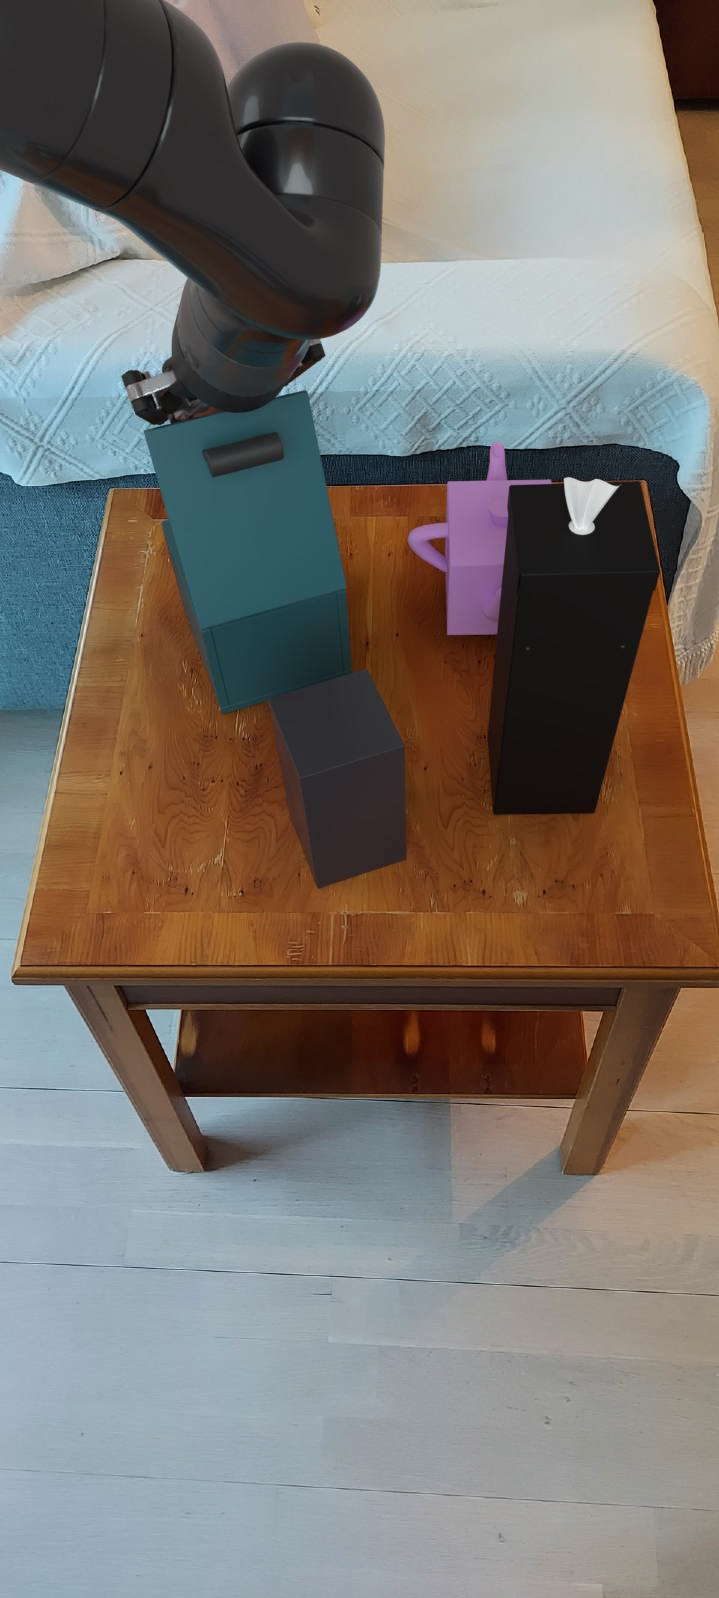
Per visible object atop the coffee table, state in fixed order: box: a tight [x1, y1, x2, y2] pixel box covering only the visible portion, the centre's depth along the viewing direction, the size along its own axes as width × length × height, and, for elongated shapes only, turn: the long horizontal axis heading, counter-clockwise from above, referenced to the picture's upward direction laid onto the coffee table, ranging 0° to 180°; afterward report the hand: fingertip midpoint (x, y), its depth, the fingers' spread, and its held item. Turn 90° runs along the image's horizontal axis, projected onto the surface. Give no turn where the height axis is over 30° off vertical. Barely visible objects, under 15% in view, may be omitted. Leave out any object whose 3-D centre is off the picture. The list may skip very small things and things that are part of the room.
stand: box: [267, 668, 407, 890], centre depth 70 cm, size 7×7×14 cm
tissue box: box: [486, 476, 661, 816], centre depth 67 cm, size 8×8×28 cm
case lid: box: [143, 389, 348, 629], centre depth 70 cm, size 14×12×5 cm
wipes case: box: [160, 519, 353, 715], centre depth 84 cm, size 14×12×10 cm
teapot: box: [407, 441, 553, 636], centre depth 85 cm, size 15×13×11 cm
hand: (208, 403), depth 74 cm, fingers closed on lotion bottle, 4 cm apart
